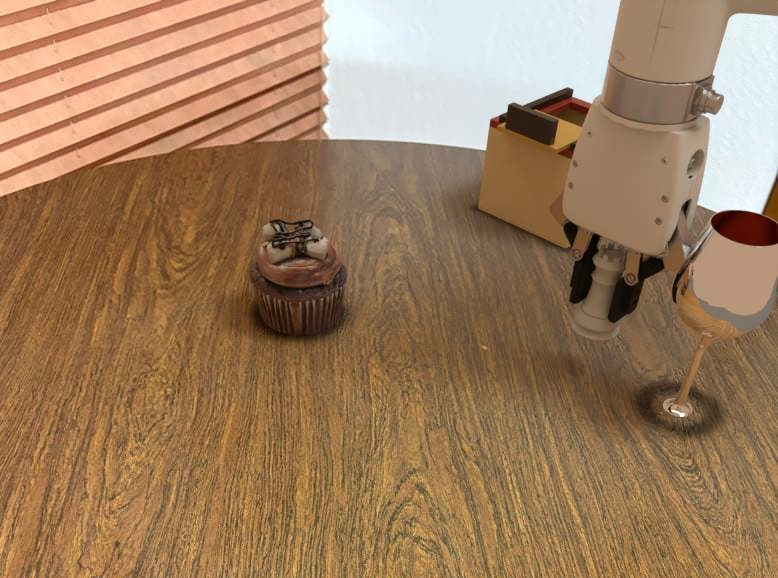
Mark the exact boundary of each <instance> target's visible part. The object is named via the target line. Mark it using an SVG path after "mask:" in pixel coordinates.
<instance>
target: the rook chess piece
mask: <svg viewBox="0 0 778 578" xmlns="http://www.w3.org/2000/svg"><path fill="white" fill-rule="evenodd" d="M598 249H599V252H598V253H596V254H595V255H594V256H593V262H594V264H595V266H596V270H594V271H593V272H592V274H591V275H592V278H593V280H592V285H591V287H590V290H589V293H588V295H587V297H586V298H585V299H584V300H582V301H581V302H580V304H579V305H577V307H576V309H575V311H574V313H573V317H572V319H571V322H570V324H571V328H572V330H573V331H574V333H575V334H576V335H577V337H579V338H581V339H583V340H585V341H587V342H592V343H604V342H605V343H606V342H609V341H610V340H612V339H613V338H615V337H616V336H618V335H619V333H620V330H621V327H620V326H621V323H622V321H623V319H622V318H621V319H620V320H618V321H617V322H616V323H612V322H610V321H608V318H607V317H608V313H609V309H610V305H611V301H612V298H613V294H614V290H615V286H616V283H617V282H618V281H619V280H620V279H622V278H623V277H624V274H623V273H625V266H626V258H627V251H628V248H627V249H625V246H623V245H621V244H618V245H617V248H615V242H608V244H607V245H606V244H604V243H603V244H602V245H600V246H599V248H598Z"/></svg>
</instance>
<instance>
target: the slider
mask: <svg viewBox="0 0 778 578" xmlns="http://www.w3.org/2000/svg"><path fill="white" fill-rule="evenodd" d="M506 110H507V111H506V112H507V116H506V122H505V123H502V124H500V125H498V126H497V130H498V131H500V132H503V133H505V134H508V135H510V136H513V137H515V138H518V139H520V140H523V141H525V142H528V143H530V144H533V145H535V146H538V147H540V148H542V149H545V150H547V151H550V152H552V153H555V154H557V153H559V152H561V151H563V150H565V149H567V148H569V147H570V145H571V143H572V142H574V141H576V140H578V137H579V135H580V132H581V129H582V127H580V126H577V125H575V124H572V123H569V122H567V121H564V120H561V119H559V118H556V117H554V116H551V115H548V114H546V113H543V112H540V111H538V110H533V109H530V108H527V107H525V106H523V105H522V104H520V103H517V102H511V103H508V104H507V109H506Z"/></svg>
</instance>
